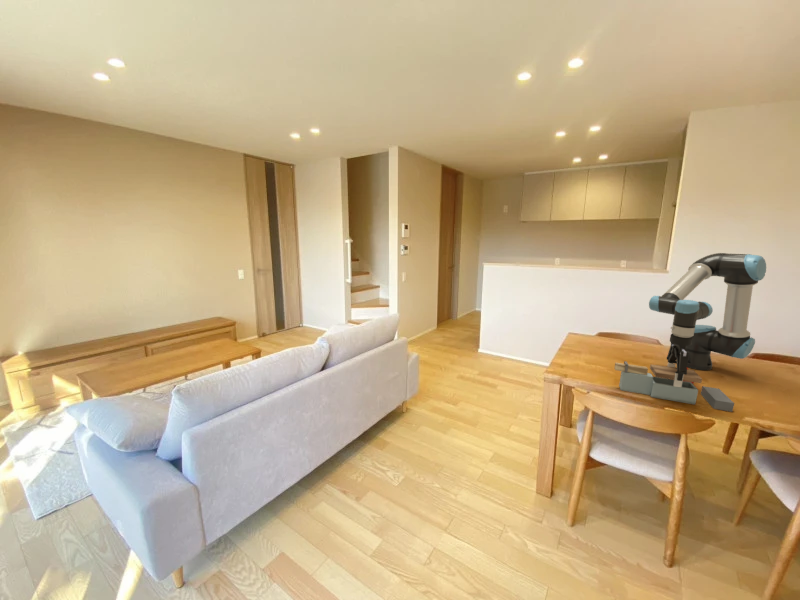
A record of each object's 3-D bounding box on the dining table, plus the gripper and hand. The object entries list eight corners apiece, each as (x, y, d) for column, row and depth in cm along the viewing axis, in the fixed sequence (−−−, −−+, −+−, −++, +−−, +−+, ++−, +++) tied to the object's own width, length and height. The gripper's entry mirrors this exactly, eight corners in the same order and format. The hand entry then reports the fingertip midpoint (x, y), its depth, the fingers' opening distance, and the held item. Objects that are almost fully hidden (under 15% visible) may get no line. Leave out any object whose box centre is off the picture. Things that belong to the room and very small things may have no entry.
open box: (646, 389, 158) (648, 375, 156) (688, 396, 151) (691, 382, 150) (650, 397, 150) (653, 383, 149) (695, 404, 144) (698, 390, 142)
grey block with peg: (619, 386, 160) (623, 361, 157) (647, 391, 156) (652, 365, 153) (620, 390, 157) (624, 364, 154) (649, 395, 152) (654, 368, 149)
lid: (649, 368, 156) (650, 364, 156) (692, 373, 150) (693, 369, 149) (655, 376, 147) (656, 372, 147) (701, 383, 141) (702, 379, 141)
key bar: (614, 368, 159) (615, 362, 158) (645, 372, 154) (646, 366, 153) (615, 370, 157) (616, 364, 156) (646, 374, 152) (647, 368, 151)
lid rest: (700, 394, 153) (702, 386, 152) (717, 396, 151) (719, 388, 150) (713, 408, 141) (715, 400, 140) (732, 411, 138) (734, 403, 137)
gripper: (663, 326, 156) (656, 370, 161) (680, 342, 136) (671, 391, 141) (683, 328, 153) (675, 372, 158) (703, 344, 133) (693, 394, 138)
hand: (673, 381), depth 149 cm, fingers closed on lid, 10 cm apart
